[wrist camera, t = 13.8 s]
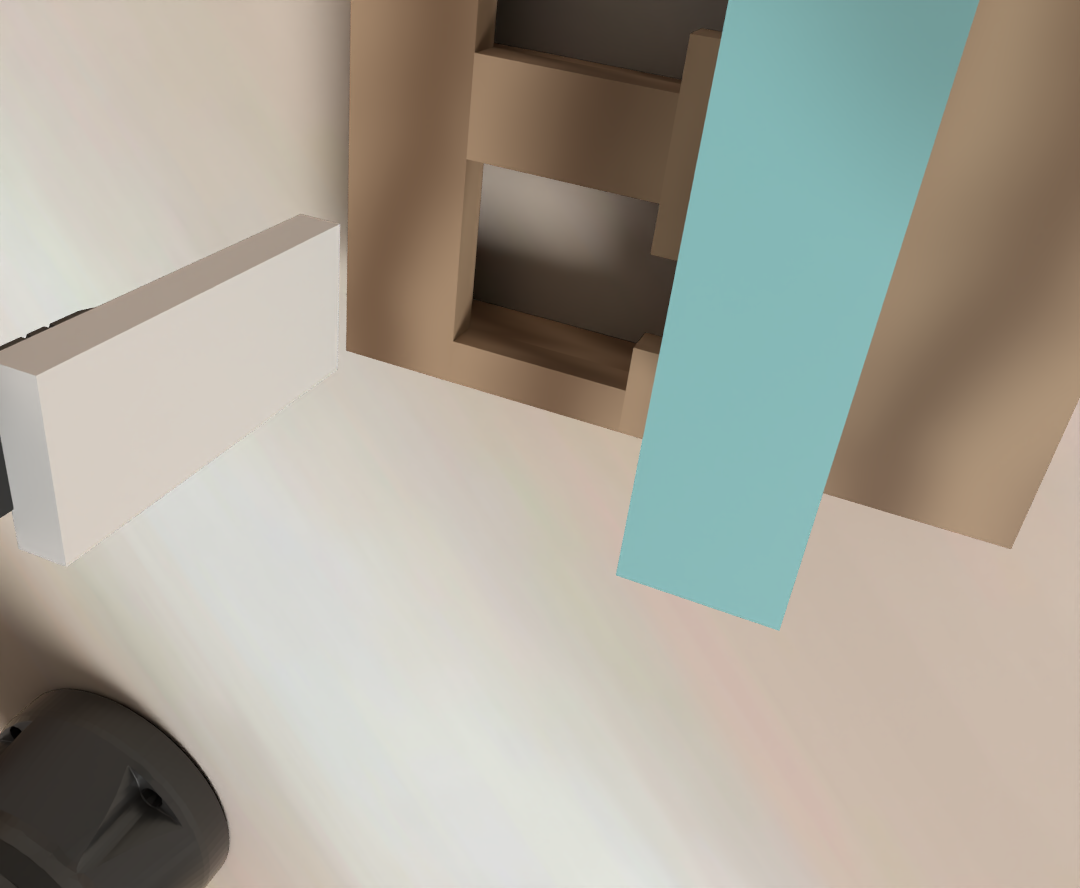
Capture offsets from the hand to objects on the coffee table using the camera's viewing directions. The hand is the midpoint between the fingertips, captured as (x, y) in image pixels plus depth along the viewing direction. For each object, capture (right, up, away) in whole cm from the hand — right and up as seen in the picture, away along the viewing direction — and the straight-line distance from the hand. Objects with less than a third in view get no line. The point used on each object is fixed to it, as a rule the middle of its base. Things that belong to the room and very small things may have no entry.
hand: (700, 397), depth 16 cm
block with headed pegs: (+6, +8, +13) cm, 17 cm away
